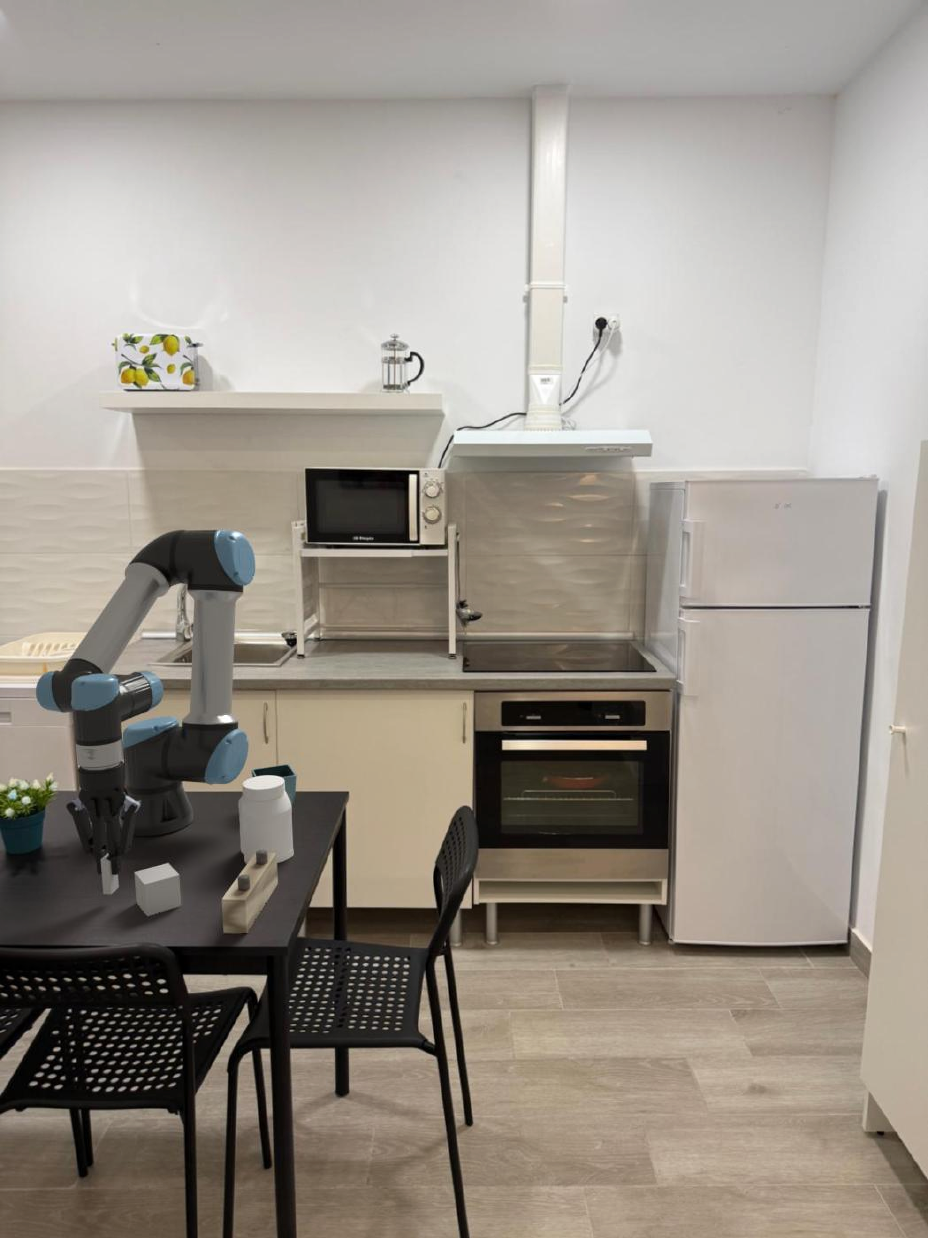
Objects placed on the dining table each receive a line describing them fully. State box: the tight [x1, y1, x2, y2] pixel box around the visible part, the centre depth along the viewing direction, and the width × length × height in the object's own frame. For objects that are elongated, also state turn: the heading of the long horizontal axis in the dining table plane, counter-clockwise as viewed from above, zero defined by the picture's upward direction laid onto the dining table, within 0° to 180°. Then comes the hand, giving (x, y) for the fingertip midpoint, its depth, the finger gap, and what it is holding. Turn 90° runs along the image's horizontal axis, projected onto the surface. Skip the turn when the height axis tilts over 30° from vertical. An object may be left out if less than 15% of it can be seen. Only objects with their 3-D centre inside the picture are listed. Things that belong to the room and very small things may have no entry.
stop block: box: [221, 850, 279, 934], centre depth 151 cm, size 4×18×8 cm, turn 176°
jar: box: [237, 775, 295, 865], centre depth 172 cm, size 12×10×15 cm
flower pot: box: [251, 763, 298, 807], centre depth 196 cm, size 9×9×9 cm
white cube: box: [134, 862, 182, 917], centre depth 152 cm, size 6×6×6 cm
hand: (111, 890), depth 153 cm, fingers closed
